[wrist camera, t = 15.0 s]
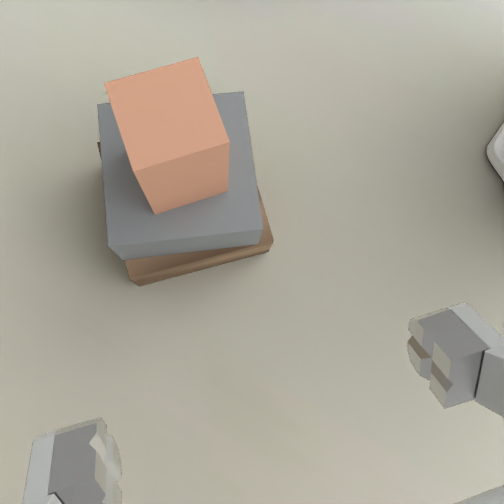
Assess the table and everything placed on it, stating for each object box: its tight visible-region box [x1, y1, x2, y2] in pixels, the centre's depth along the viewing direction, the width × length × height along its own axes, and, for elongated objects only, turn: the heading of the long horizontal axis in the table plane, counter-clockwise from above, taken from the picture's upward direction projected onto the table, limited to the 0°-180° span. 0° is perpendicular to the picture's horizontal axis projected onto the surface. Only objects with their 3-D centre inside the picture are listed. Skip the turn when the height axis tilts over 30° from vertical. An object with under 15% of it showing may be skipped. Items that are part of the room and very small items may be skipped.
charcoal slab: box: [97, 92, 263, 260], centre depth 32 cm, size 10×10×4 cm
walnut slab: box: [97, 142, 274, 286], centre depth 37 cm, size 11×11×4 cm
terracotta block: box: [104, 57, 230, 215], centre depth 27 cm, size 5×5×8 cm
